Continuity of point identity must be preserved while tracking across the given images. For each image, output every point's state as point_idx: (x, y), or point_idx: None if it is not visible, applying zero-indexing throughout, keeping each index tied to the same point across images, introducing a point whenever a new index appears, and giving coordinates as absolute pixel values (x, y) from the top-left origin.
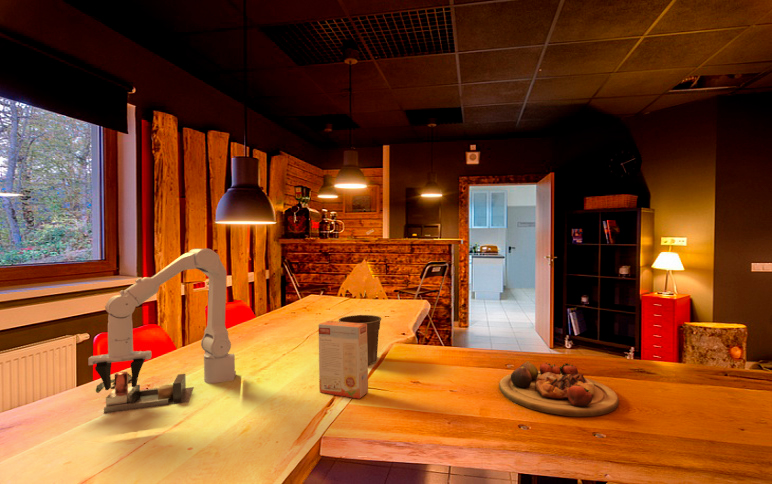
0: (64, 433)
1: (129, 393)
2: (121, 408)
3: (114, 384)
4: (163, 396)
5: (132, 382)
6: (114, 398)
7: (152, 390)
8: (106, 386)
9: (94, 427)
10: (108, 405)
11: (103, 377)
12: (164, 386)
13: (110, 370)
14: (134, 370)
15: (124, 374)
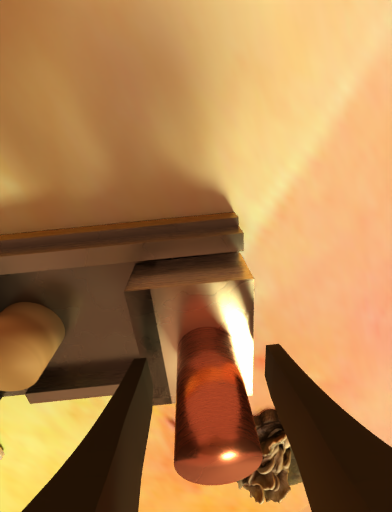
0: (353, 72)
1: (147, 312)
2: (167, 235)
3: (284, 452)
4: (15, 312)
5: (134, 378)
6: (210, 279)
7: (111, 382)
8: (281, 359)
9: (237, 108)
10: (232, 260)
11: (330, 415)
12: (15, 373)
13: (310, 502)
14: (79, 478)
15: (184, 443)
